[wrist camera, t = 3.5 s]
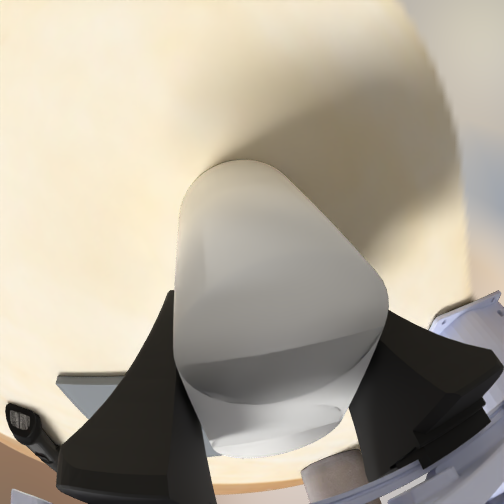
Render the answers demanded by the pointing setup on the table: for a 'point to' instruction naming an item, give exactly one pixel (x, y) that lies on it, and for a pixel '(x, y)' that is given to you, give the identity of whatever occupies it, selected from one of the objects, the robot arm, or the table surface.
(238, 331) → the block
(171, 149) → the table surface
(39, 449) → the electric trimmer
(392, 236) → the table surface
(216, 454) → the slate mat
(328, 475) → the pillar candle
